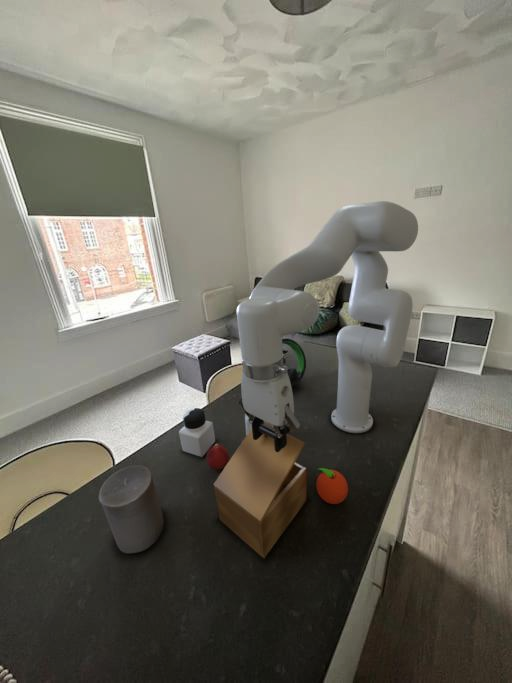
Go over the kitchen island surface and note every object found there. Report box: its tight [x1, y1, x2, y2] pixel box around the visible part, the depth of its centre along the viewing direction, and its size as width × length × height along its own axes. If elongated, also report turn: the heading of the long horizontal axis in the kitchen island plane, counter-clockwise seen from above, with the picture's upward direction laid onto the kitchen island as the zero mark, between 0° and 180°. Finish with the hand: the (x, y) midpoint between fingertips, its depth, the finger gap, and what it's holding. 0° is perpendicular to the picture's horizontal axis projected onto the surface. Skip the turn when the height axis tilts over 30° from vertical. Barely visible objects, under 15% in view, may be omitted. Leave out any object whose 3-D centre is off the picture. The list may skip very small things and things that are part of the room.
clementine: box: [315, 467, 349, 505], centre depth 63 cm, size 8×7×7 cm
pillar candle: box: [98, 464, 165, 554], centre depth 57 cm, size 10×10×15 cm
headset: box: [282, 338, 307, 389], centre depth 105 cm, size 18×14×29 cm
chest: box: [213, 461, 307, 559], centre depth 61 cm, size 16×13×10 cm
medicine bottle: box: [178, 407, 216, 458], centre depth 80 cm, size 7×7×12 cm
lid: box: [213, 423, 306, 522], centre depth 56 cm, size 16×13×5 cm
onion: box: [205, 443, 230, 471], centre depth 73 cm, size 6×6×8 cm
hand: (269, 441), depth 58 cm, fingers closed on lid, 5 cm apart
